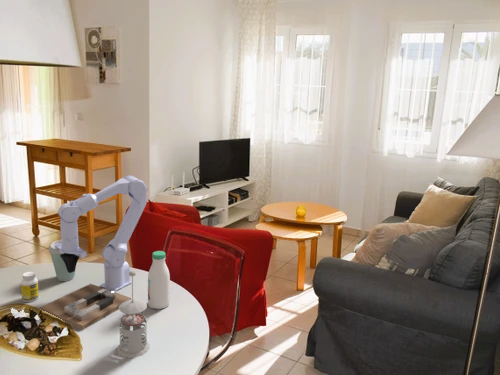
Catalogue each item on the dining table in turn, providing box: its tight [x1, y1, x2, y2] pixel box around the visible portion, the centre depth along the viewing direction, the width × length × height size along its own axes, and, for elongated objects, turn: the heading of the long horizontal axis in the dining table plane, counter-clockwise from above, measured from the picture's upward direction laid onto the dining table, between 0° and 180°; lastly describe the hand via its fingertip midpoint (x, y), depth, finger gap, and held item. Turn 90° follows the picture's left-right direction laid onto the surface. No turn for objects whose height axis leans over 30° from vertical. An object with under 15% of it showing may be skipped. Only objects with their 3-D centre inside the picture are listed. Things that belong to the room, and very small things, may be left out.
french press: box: [116, 270, 151, 359], centre depth 125 cm, size 10×12×25 cm
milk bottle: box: [147, 250, 171, 310], centre depth 151 cm, size 8×8×20 cm
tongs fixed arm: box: [74, 297, 113, 320], centre depth 144 cm, size 14×4×2 cm, turn 152°
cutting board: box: [39, 283, 132, 331], centre depth 149 cm, size 22×21×2 cm
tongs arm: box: [64, 288, 117, 316], centre depth 148 cm, size 18×6×2 cm, turn 150°
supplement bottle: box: [20, 271, 39, 303], centre depth 152 cm, size 5×5×10 cm
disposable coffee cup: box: [48, 239, 77, 282], centre depth 168 cm, size 11×11×15 cm
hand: (71, 271), depth 155 cm, fingers closed
